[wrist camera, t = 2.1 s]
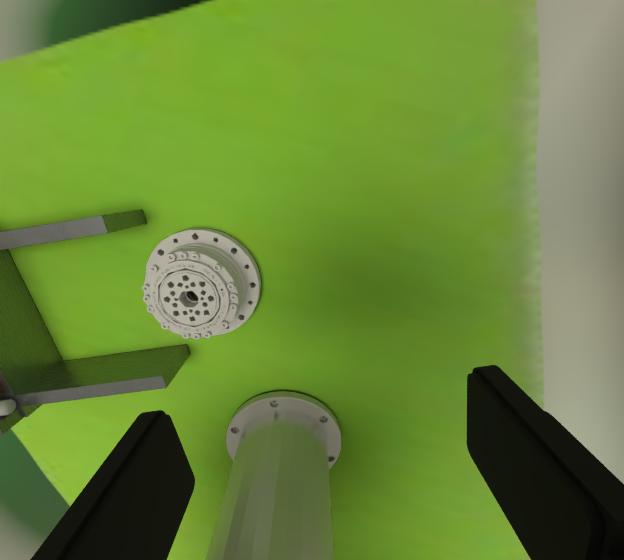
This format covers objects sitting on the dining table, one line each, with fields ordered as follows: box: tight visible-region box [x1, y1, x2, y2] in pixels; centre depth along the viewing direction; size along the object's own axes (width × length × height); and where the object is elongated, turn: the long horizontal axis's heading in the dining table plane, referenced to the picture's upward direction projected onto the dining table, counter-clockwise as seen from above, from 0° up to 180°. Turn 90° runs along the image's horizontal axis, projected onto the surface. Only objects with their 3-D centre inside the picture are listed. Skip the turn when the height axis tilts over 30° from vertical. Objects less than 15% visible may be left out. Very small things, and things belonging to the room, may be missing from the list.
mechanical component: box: [142, 228, 261, 340], centre depth 25 cm, size 10×4×10 cm
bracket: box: [0, 210, 190, 434], centre depth 24 cm, size 17×16×7 cm
